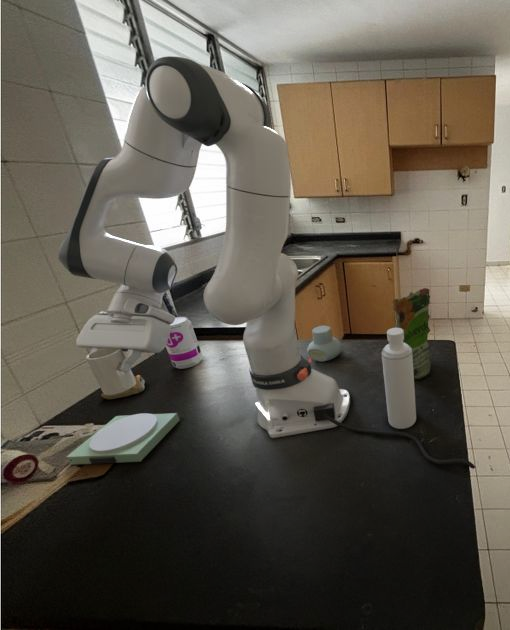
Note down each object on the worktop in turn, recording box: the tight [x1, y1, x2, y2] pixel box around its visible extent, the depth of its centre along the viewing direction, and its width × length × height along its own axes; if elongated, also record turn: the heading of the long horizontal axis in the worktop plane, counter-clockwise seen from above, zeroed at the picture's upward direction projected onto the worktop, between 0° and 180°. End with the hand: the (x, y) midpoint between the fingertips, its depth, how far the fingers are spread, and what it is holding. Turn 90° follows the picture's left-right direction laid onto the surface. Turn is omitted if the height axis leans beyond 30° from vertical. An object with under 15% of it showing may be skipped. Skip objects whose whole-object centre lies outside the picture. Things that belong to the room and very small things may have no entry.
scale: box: [65, 412, 181, 466], centre depth 76 cm, size 15×13×3 cm
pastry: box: [100, 374, 146, 400], centre depth 94 cm, size 9×7×4 cm
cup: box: [85, 348, 136, 395], centre depth 74 cm, size 6×6×9 cm
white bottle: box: [380, 327, 417, 430], centre depth 75 cm, size 7×7×25 cm
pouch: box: [391, 287, 432, 380], centre depth 94 cm, size 11×12×25 cm
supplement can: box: [165, 316, 204, 370], centre depth 106 cm, size 8×8×15 cm
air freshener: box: [306, 325, 343, 362], centre depth 107 cm, size 11×8×10 cm
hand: (108, 370), depth 73 cm, fingers closed on cup, 6 cm apart
